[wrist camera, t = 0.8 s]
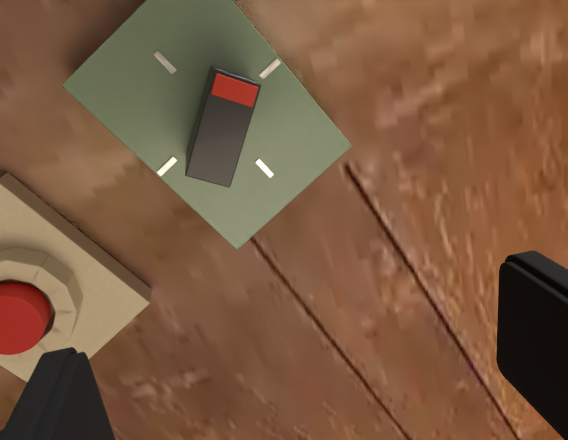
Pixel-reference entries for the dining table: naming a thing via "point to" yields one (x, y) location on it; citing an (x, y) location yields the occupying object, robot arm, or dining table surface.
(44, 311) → the power button
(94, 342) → the switch box
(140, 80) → the panel
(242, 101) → the red-striped black box
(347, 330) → the dining table surface
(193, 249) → the dining table surface
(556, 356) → the robot arm
